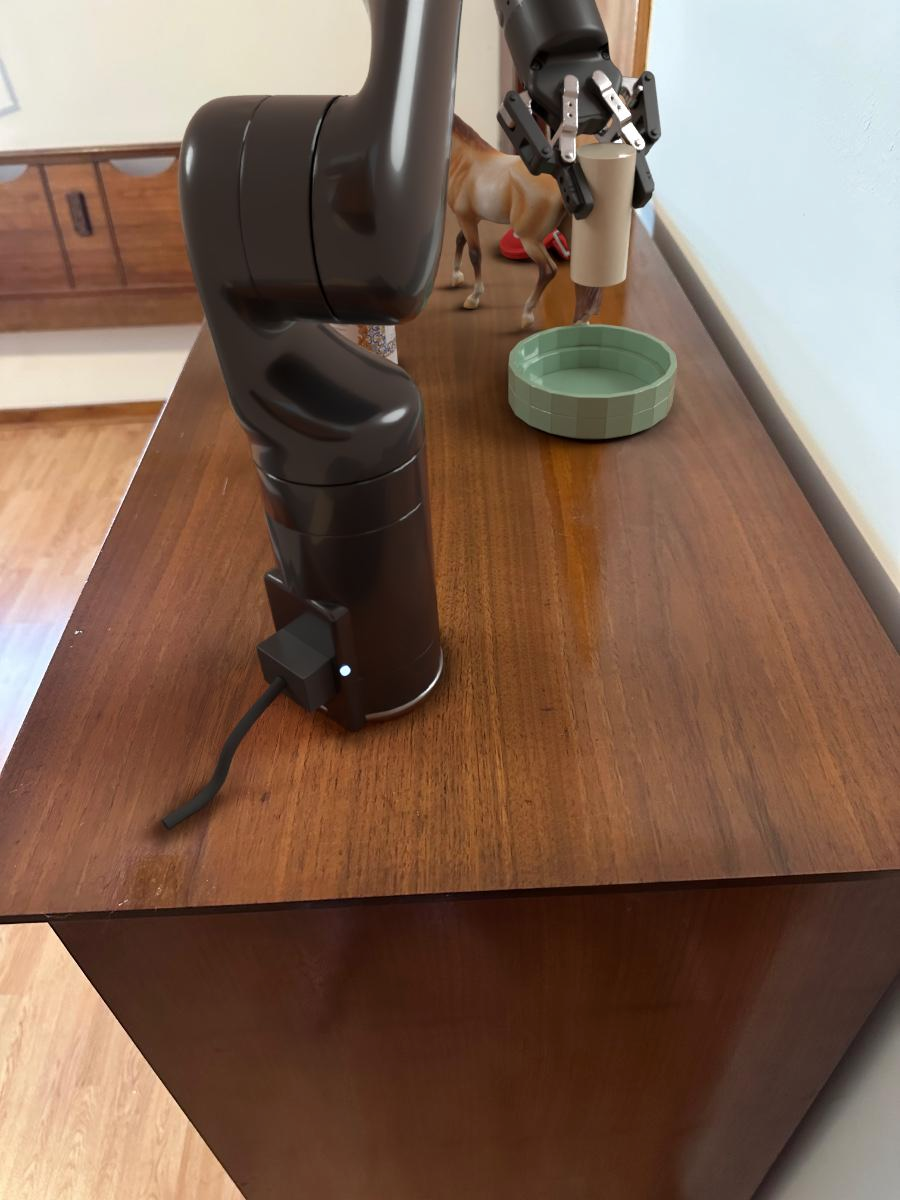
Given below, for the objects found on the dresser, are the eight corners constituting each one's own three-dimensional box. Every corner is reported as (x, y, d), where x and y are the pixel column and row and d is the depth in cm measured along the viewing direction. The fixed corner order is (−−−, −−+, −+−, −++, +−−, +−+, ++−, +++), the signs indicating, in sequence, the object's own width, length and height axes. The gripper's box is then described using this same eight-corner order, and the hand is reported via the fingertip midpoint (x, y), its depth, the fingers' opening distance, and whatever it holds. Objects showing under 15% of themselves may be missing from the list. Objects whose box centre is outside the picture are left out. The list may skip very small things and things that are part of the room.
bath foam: (317, 379, 90) (285, 168, 78) (355, 352, 95) (331, 148, 82) (374, 392, 88) (351, 176, 75) (410, 364, 92) (394, 155, 79)
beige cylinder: (605, 291, 74) (614, 162, 67) (558, 279, 76) (562, 153, 70) (637, 273, 76) (648, 147, 70) (591, 262, 79) (598, 139, 72)
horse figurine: (400, 289, 108) (386, 98, 95) (449, 273, 112) (442, 86, 98) (585, 371, 89) (600, 146, 76) (637, 348, 93) (660, 130, 79)
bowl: (610, 461, 76) (614, 415, 73) (476, 409, 84) (475, 365, 81) (701, 395, 84) (708, 350, 82) (571, 353, 92) (573, 311, 90)
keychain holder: (487, 251, 113) (509, 208, 118) (498, 281, 116) (519, 238, 121) (578, 237, 107) (597, 192, 113) (587, 269, 110) (605, 224, 116)
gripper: (480, -15, 66) (554, 197, 65) (643, -33, 70) (714, 167, 69) (454, 56, 73) (520, 249, 73) (603, 36, 77) (667, 218, 77)
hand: (615, 207), depth 71 cm, fingers closed on beige cylinder, 4 cm apart
